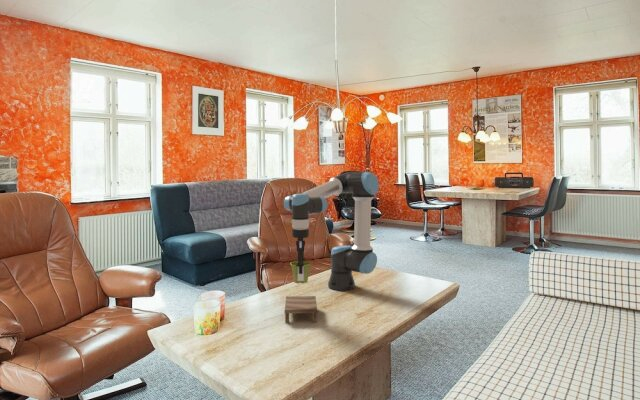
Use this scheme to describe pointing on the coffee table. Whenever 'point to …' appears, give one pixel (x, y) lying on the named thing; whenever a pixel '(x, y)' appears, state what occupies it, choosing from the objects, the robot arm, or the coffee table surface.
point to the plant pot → (295, 271)
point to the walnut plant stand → (300, 306)
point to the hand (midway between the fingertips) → (300, 277)
